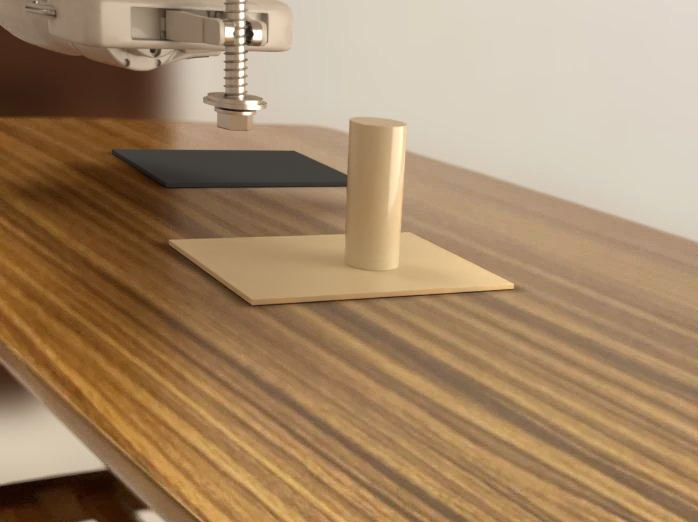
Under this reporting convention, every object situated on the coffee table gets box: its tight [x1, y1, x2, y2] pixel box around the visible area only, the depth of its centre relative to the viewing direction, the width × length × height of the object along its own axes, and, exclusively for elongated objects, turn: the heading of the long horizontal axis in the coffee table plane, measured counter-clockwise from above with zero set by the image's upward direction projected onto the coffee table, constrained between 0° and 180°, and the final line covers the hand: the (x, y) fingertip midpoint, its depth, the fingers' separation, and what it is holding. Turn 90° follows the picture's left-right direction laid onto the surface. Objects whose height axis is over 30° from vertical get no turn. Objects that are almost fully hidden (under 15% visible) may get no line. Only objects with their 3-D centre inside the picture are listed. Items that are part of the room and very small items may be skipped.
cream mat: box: [168, 231, 515, 306], centre depth 90 cm, size 20×16×1 cm
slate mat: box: [111, 148, 347, 188], centre depth 119 cm, size 19×16×1 cm
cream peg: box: [344, 116, 408, 271], centre depth 88 cm, size 4×4×10 cm
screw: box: [202, 0, 268, 132], centre depth 94 cm, size 13×5×5 cm
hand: (244, 34), depth 93 cm, fingers closed on screw, 2 cm apart
